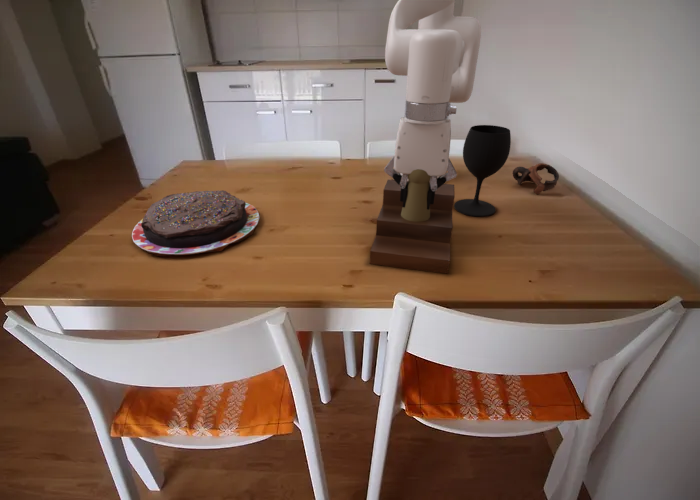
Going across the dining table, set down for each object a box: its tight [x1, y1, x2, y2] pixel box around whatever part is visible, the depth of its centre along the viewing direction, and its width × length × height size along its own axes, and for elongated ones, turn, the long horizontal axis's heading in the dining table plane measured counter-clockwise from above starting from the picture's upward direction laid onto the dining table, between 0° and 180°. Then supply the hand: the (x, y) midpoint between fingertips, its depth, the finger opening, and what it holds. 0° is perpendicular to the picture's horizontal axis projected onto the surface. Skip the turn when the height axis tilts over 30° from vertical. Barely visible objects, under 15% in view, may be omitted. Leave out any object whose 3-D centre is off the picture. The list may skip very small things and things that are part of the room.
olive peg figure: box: [401, 169, 431, 222], centre depth 71 cm, size 6×6×11 cm
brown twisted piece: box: [512, 162, 560, 195], centre depth 102 cm, size 12×10×8 cm
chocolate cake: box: [131, 190, 260, 257], centre depth 82 cm, size 28×28×7 cm
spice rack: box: [369, 178, 456, 274], centre depth 75 cm, size 21×15×10 cm
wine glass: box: [453, 124, 512, 218], centre depth 87 cm, size 10×10×20 cm
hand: (416, 204), depth 73 cm, fingers closed on olive peg figure, 4 cm apart
